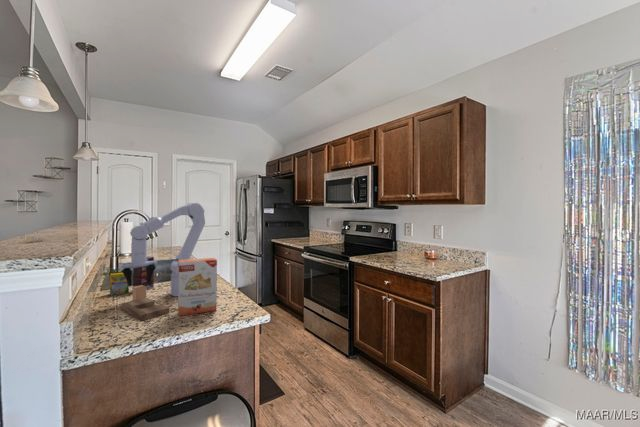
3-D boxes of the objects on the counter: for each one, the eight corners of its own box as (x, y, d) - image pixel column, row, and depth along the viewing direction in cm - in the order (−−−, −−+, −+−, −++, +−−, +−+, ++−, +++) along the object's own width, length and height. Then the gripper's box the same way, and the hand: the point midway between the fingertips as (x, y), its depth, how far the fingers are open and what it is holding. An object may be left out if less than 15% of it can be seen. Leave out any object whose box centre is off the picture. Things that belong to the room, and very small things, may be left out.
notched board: (147, 302, 130) (147, 297, 130) (169, 312, 117) (169, 307, 117) (121, 308, 122) (121, 303, 122) (141, 320, 109) (141, 315, 109)
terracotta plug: (142, 298, 135) (142, 285, 135) (146, 299, 133) (146, 286, 133) (132, 300, 132) (132, 286, 132) (136, 302, 130) (136, 288, 130)
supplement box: (141, 292, 144) (141, 259, 144) (132, 291, 145) (132, 259, 145) (154, 287, 153) (154, 256, 152) (146, 286, 154) (146, 256, 153)
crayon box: (110, 295, 139) (109, 270, 139) (110, 293, 141) (109, 269, 141) (128, 292, 143) (128, 268, 143) (128, 291, 146) (128, 267, 145)
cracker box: (178, 316, 113) (178, 262, 113) (178, 311, 119) (177, 259, 118) (217, 311, 120) (217, 259, 119) (214, 306, 125) (214, 256, 125)
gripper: (152, 250, 140) (152, 279, 141) (116, 254, 129) (117, 285, 129) (159, 251, 136) (159, 281, 136) (122, 255, 124) (123, 288, 125)
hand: (139, 283), depth 132 cm, fingers open, 7 cm apart
